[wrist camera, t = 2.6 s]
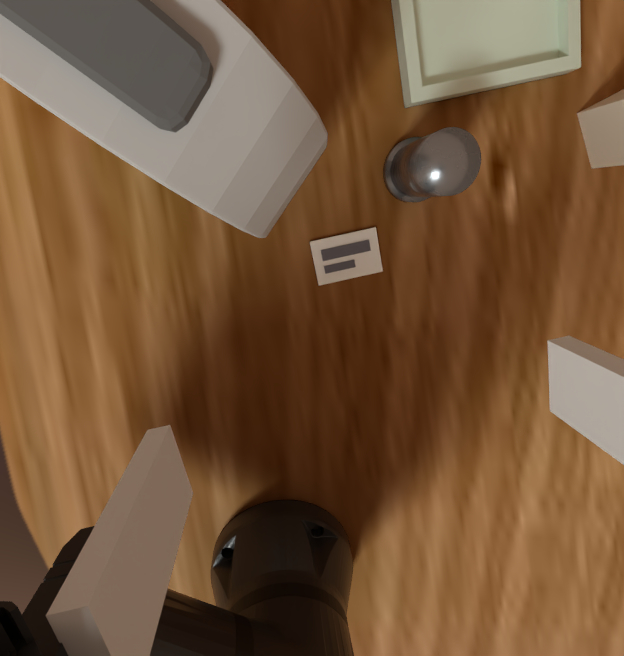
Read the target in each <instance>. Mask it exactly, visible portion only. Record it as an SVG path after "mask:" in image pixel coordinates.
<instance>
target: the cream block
mask: <svg viewBox="0 0 624 656" xmlns="http://www.w3.org/2000/svg"><path fill="white" fill-rule="evenodd" d="M577 116H578V119H579V123H580V127H581V131H582V134H583V138H584V142H585V146H586V150H587V153H588V157H589V161H590V165H591V168H592V169H593V168H602V167H611V166H620V165H624V89H623V90H621V91H619V92H617V93H615V94H613V95H611V96H609V97H607V98H605V99H604V100H602V101H600V102H598V103H596V104H594V105H592V106H590V107H588V108H586V109H584V110H582V111H581V112H579V113H577Z"/></svg>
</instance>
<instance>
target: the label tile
mask: <svg viewBox="0 0 624 656" xmlns="http://www.w3.org/2000/svg"><path fill="white" fill-rule="evenodd" d="M310 247H311V252H312V256H313V261H314V266H315V271H316V276H317V281H318V285H319V286H320V285H324V284H329V283H333V282H338V281H342V280H347V279H351V278H356V277H360V276H365V275H369V274H374V273H378V272H383V269H382V263H381V256H380V250H379V244H378V237H377V231H376V227H374V228H369V229H365V230H360V231H356V232H351V233H347V234H342V235H338V236H333V237H328V238H324V239H319V240H315V241H310Z"/></svg>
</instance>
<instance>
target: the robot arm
mask: <svg viewBox="0 0 624 656" xmlns="http://www.w3.org/2000/svg"><path fill="white" fill-rule="evenodd" d="M548 367H549V397H550V411H551V412H552V413H553V414H555V415H556V416H558V417H559V418H560V419H562V420H563V421H564V422H566V423H567V424H568V425H570V426H571V427H573V428H574V429H575V430H577V431H578V432H579V433H581V434H582V435H584V436H585V437H586V438H588V439H589V440H590V441H592V442H593V443H594V444H596V445H597V446H599V447H600V448H601V449H603V450H604V451H605V452H607V453H608V454H610V455H611V456H612V457H614V458H615V459H616V460H618V461H619V462H621V463H622V464H623V465H624V359H622V358H619V357H617V356H615V355H612V354H610V353H608V352H605V351H603V350H601V349H599V348H596V347H594V346H592V345H589V344H587V343H585V342H582V341H580V340H578V339H575V338H573V337H571V336H565V337H561V338H556V339H552V340H548ZM192 495H193V491H192V488H191V485H190V482H189V479H188V476H187V473H186V470H185V467H184V464H183V461H182V458H181V455H180V453H179V450H178V447H177V444H176V441H175V438H174V435H173V432H172V429H171V426H170V425H167V426H163V427H158V428H154V429H149V430H147V432H146V433H145V435H144V437H143V439H142V441H141V443H140V444H139V446H138V448H137V450H136V452H135V453H134V455H133V457H132V459H131V461H130V463H129V464H128V466H127V468H126V470H125V472H124V474H123V475H122V477H121V479H120V481H119V483H118V485H117V486H116V488H115V490H114V492H113V494H112V496H111V497H110V499H109V501H108V503H107V505H106V506H105V508H104V510H103V512H102V514H101V516H100V517H99V519H98V521H97V523H96V525H95V526H93V527H88V528H84V529H81V530H80V531H79V532H78V533H77V534H76V535H75V536H74V537H73V538H72V539H71V540H70V541H69V542H68V543H66V544H65V545H64V547H63V548H62V550H61V551H60V553H59V555H58V556H57V558H56V560H55V561H54V563H53V568H50V570H49V571H48V573H47V575H46V576H45V578H44V582H43V583H41V585H40V586H39V588H38V590H37V591H36V593H35V594H34V596H33V598H32V599H31V601H30V603H29V604H28V606H27V608H26V609H25V611H24V613H23V614H21V613H20V611H19V609H18V607H17V606H16V605H15V604H14V603H12V602H5V601H0V656H354V653H353V648H352V643H351V638H350V633H349V628H348V623H347V617H346V614H347V607H348V601H349V594H350V587H351V581H352V574H353V559H352V554H351V549H350V545H349V541H348V537H347V535H346V532H345V530H344V529H343V527H342V526H341V524H340V523H339V522H338V521H337V519H336V518H334V517H333V516H332V515H331V514H330V513H328V512H327V511H325V510H324V509H322V508H320V507H318V506H315V505H313V504H310V503H306V502H301V501H294V500H278V501H271V502H266V503H263V504H259V505H256V506H254V507H252V508H250V509H247V510H246V511H244V512H242V513H241V514H239V515H238V516H236V517H235V518H234V519H233V520H232V521H230V522H229V524H228V525H227V526H226V527H225V528H224V529H223V531H222V532H221V534H220V536H219V537H218V539H217V542H216V544H215V548H214V553H213V559H212V565H211V584H212V589H213V593H214V598H215V602H216V606H214V605H211V604H208V603H206V602H203V601H200V600H197V599H195V598H192V597H189V596H186V595H184V594H181V593H178V592H176V591H173V590H170V589H168V585H169V581H170V577H171V574H172V570H173V566H174V562H175V559H176V555H177V551H178V547H179V544H180V540H181V536H182V533H183V529H184V525H185V521H186V518H187V514H188V510H189V506H190V503H191V499H192Z"/></svg>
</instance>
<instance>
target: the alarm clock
mask: <svg viewBox="0 0 624 656" xmlns="http://www.w3.org/2000/svg"><path fill="white" fill-rule="evenodd" d="M0 77H1V78H2V79H4V80H5V81H6V82H8V83H9V84H11V85H12V86H14V87H15V88H16V89H18V90H19V91H21V92H22V93H23V94H25V95H26V96H28V97H29V98H31V99H32V100H33V101H35V102H36V103H38V104H39V105H41V106H42V107H44V108H45V109H47V110H48V111H50V112H51V113H53V114H54V115H56V116H57V117H59V118H60V119H62V120H63V121H65V122H66V123H68V124H69V125H71V126H72V127H74V128H75V129H77V130H78V131H80V132H81V133H83V134H84V135H86V136H87V137H89V138H90V139H92V140H93V141H95V142H96V143H98V144H99V145H101V146H102V147H104V148H105V149H107V150H108V151H110V152H112V153H113V154H115V155H116V156H118V157H119V158H121V159H123V160H124V161H126V162H127V163H129V164H130V165H132V166H134V167H135V168H137V169H138V170H140V171H141V172H143V173H145V174H146V175H148V176H149V177H151V178H152V179H154V180H156V181H157V182H159V183H160V184H162V185H164V186H165V187H167V188H169V189H170V190H172V191H174V192H175V193H177V194H179V195H180V196H182V197H184V198H185V199H187V200H189V201H190V202H192V203H193V204H195V205H197V206H198V207H200V208H202V209H203V210H205V211H207V212H209V213H210V214H212V215H214V216H216V217H218V218H219V219H221V220H223V221H225V222H227V223H229V224H230V225H232V226H234V227H236V228H238V229H240V230H242V231H244V232H246V233H249V234H251V235H253V236H255V237H258V238H265V237H267V235H268V234H269V232H270V231H271V229H272V228H273V226H274V225H275V223H276V222H277V220H278V219H279V217H280V216H281V214H282V213H283V211H284V210H285V208H286V207H287V205H288V204H289V202H290V201H291V199H292V198H293V196H294V195H295V193H296V192H297V190H298V189H299V187H300V186H301V184H302V183H303V182H304V180H305V179H306V177H307V176H308V174H309V173H310V171H311V170H312V168H313V167H314V165H315V164H316V162H317V161H318V159H319V158H320V156H321V155H322V153H323V152H324V150H325V149H326V147H327V138H328V133H327V131H326V129H325V127H324V125H323V122H322V120H321V118H320V116H319V114H318V112H317V111H316V110H315V108H314V107H313V105H312V104H311V103H310V101H309V100H308V98H307V97H306V96H305V94H304V93H303V92H302V90H301V89H300V87H299V86H298V85H297V83H296V82H295V80H294V79H293V78H292V77H291V76H290V74H289V73H288V72H287V71H286V70H285V69H284V68H283V66H282V65H281V64H280V63H279V62H278V61H277V60H276V58H275V57H274V56H273V55H272V54H271V53H270V52H269V50H268V49H267V48H266V47H265V46H264V45H263V44H262V42H261V41H260V40H259V39H258V38H257V37H256V36H255V34H254V33H253V32H252V31H251V30H250V29H249V28H248V27H247V26H246V25H245V24H244V23H243V22H242V21H241V20H240V19H239V18H238V17H237V16H236V15H235V14H234V13H233V12H232V11H231V10H230V9H229V8H228V7H227V6H226V5H225V4H224V3H223V2H222V1H221V0H0Z"/></svg>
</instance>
